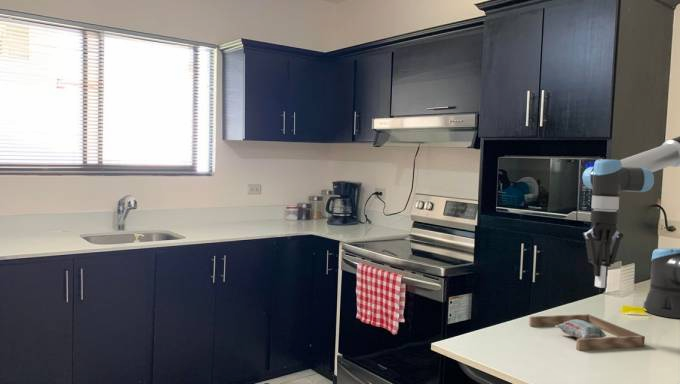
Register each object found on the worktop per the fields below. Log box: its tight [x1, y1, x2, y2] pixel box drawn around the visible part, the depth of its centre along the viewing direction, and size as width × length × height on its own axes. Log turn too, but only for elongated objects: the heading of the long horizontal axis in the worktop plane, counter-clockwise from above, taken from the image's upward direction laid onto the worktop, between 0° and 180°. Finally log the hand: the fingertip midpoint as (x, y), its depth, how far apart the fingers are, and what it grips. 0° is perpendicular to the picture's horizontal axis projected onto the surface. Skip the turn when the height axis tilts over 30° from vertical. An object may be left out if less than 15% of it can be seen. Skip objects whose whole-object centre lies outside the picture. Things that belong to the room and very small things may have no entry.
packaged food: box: [554, 319, 607, 339], centre depth 165 cm, size 9×12×5 cm
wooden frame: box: [528, 313, 646, 351], centre depth 168 cm, size 22×24×3 cm
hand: (599, 286), depth 169 cm, fingers closed
